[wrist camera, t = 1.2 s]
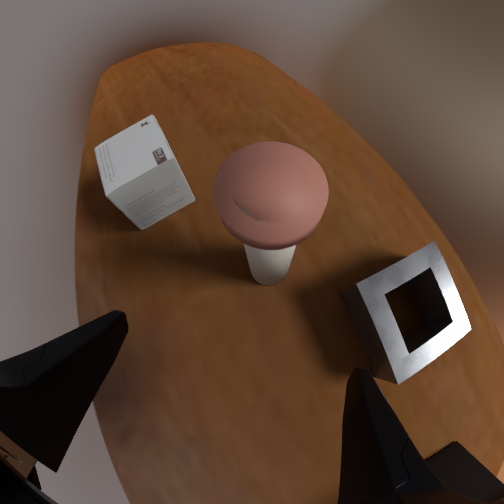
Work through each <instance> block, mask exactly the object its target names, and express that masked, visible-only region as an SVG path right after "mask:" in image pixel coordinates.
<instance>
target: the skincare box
mask: <svg viewBox="0 0 504 504" xmlns="http://www.w3.org/2000/svg"><path fill="white" fill-rule="evenodd" d="M95 154H96V159H97V164H98V168H99V172H100V177H101V181H102V185H103V188H104V192H105V195H106V197H107V198H108V199H109V200H110V201H111V202H112V203H113V204H114V205H115V206H116V207H117V208H118V209H119V210H120V211H121V212H122V213H123V214H124V215H125V216H126V217H128V218H129V219H130V220H131V221H132V222H133V223H134V224H135V225H136V226H137V227H138V228H139V229H140V230H144V229H146V228H148V227H149V226H151V225H153V224H155V223H156V222H158V221H160V220H162V219H163V218H165V217H167V216H168V215H170V214H172V213H174V212H176V211H177V210H179V209H181V208H183V207H185V206H186V205H188V204H190V203H192V202H194V201H195V198H194V196H193V193H192V191H191V189H190V187H189V185H188V183H187V181H186V179H185V177H184V175H183V173H182V170H181V168H180V166H179V164H178V162H177V160H176V158H175V156H174V154H173V152H172V150H171V148H170V146H169V144H168V142H167V140H166V138H165V136H164V134H163V132H162V130H161V128H160V126H159V124H158V122H157V120H156V119H155V117H154V115H150V116H148V117H147V118H145V119H143V120H141V121H139V122H137V123H136V124H134V125H132V126H130V127H129V128H127V129H125V130H123V131H121V132H120V133H118V134H116V135H114V136H113V137H111V138H109V139H108V140H106V141H104V142H103V143H101V144H100V145H98V146H97V147H95Z"/></svg>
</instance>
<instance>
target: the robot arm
mask: <svg viewBox="0 0 504 504" xmlns="http://www.w3.org/2000/svg"><path fill="white" fill-rule="evenodd" d="M127 333H128V323H127V319H126V314H125V313H124V312H122V311H119V310H114V311H112V312H109V313H107V314H105V315H103V316H101V317H99V318H97V319H95V320H93V321H91V322H89V323H86V324H84V325H82V326H80V327H78V328H76V329H74V330H72V331H70V332H68V333H66V334H64V335H62V336H59V337H57V338H55V339H53V340H51V341H49V342H47V343H45V344H43V345H41V346H39V347H37V348H34V349H33V350H30V351H27V352H25V353H22V354H20V355H17V356H14V357H12V358H9V359H6V360H3V361H1V362H0V504H58V503H56V502H55V501H54V500H52V499H51V498H50V497H48V496H47V495H46V494H44V493H43V492H42V491H41V486H40V482H39V479H38V475H37V471H36V467H35V464H36V462H37V460H38V461H39V462H40V463H42V464H44V465H45V466H47V467H48V468H49V469H51V470H52V471H54V472H57V471H58V469H59V466H60V464H61V462H62V460H63V458H64V456H65V454H66V452H67V449H68V448H69V445H70V443H71V441H72V439H73V436H74V435H75V433H76V431H77V429H78V427H79V425H80V423H81V421H82V419H83V418H84V416H85V414H86V412H87V410H88V408H89V406H90V404H91V402H92V401H93V399H94V397H95V395H96V393H97V391H98V390H99V388H100V386H101V384H102V383H103V381H104V379H105V377H106V375H107V374H108V372H109V370H110V368H111V367H112V365H113V363H114V361H115V359H116V357H117V355H118V352H119V350H120V348H121V346H122V344H123V341H124V339H125V337H126V335H127ZM338 504H504V498H502V499H500V500H498V501H496V502H494V503H485V502H481V501H478V500H475V499H472V498H469V497H466V496H463V495H461V494H458V493H455V492H453V491H451V490H449V489H447V488H446V487H445V486H444V485H443V484H442V483H441V482H440V481H439V480H438V478H437V477H436V476H435V474H434V473H433V472H432V470H431V469H430V467H429V466H428V465H427V463H426V462H425V461H424V459H423V458H422V456H421V455H420V454H419V452H418V450H417V449H416V447H415V446H414V444H413V442H412V441H411V439H410V437H409V436H408V434H407V432H406V431H405V429H404V427H403V425H402V424H401V422H400V421H399V419H398V417H397V416H396V414H395V412H394V411H393V409H392V407H391V406H390V404H389V402H388V401H387V399H386V398H385V396H384V394H383V393H382V391H381V390H380V388H379V386H378V385H377V383H376V382H375V380H374V378H373V377H372V375H371V374H370V372H369V370H368V369H367V368H364V367H356V368H355V369H354V371H353V373H352V374H351V376H350V377H349V379H348V382H347V387H346V396H345V405H344V412H343V424H342V455H341V473H340V486H339V497H338Z"/></svg>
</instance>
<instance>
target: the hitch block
mask: <svg viewBox="0 0 504 504" xmlns="http://www.w3.org/2000/svg"><path fill="white" fill-rule="evenodd" d="M405 282H407V284H408V286H409V288H410V290H411V293H412V295H413V297H414V299H415V302H416V304H417V307H418V309H419V311H420V314H421V316H422V319H423V321H424V324H425V326H424V327H423V328H422V329H420V330H419V331H417V332H416V333H414V334H413V335H411V336H410V337H408V338H407V339H405V340H403V338H402V335H401V333H400V330H399V328H398V325H397V323H396V320H395V318H394V316H393V313H392V311H391V309H390V306H389V304H388V302H387V299H386V297H385V295H384V294H386V293H388V292H390V291H391V290H393V289H395V288H397V287H398V286H400V285H402V284H404V283H405ZM340 295H341V297H342V300H343V302H344V304H345V306H346V308H347V311H348V313H349V315H350V317H351V320H352V322H353V324H354V327H355V329H356V331H357V334H358V336H359V338H360V341H361V343H362V345H363V348H364V350H365V353H366V355H367V358H368V360H369V363H370V365H371V368H372V370H373V373H374V375H375V377H376V378H379V379H382V380H385V381H388V382H392V383H395V384H400V383H401V382H403V381H404V380H406V379H407V378H409V377H410V376H412V375H413V374H415V373H416V372H418V371H419V370H420V369H422V368H423V367H425V366H426V365H427V364H429V363H430V362H431V361H433V360H434V359H435V358H437V357H438V356H439V355H441V354H442V353H443V352H444V351H446V350H447V349H448V348H449V347H451V346H452V345H453V344H454V343H456V342H457V341H458V340H459V339H460V338H461V337H463V336H464V335H465V334H466V333H467V332H468V331H469V330H471V327H470V324H469V321H468V318H467V315H466V312H465V309H464V307H463V304H462V301H461V299H460V296H459V294H458V291H457V289H456V286H455V284H454V281H453V279H452V277H451V274H450V272H449V270H448V268H447V266H446V263H445V261H444V259H443V257H442V255H441V253H440V251H439V249H438V247H437V245H436V243H435V241H434V242H432V243H430V244H428V245H427V246H425V247H423V248H422V249H420V250H418V251H416V252H415V253H413V254H411V255H409V256H407V257H406V258H404V259H402V260H400V261H398V262H397V263H395V264H393V265H391V266H389V267H387V268H385V269H384V270H382V271H380V272H378V273H376V274H374V275H372V276H370V277H368V278H366V279H364V280H362V281H360V282H358V283H356V284H355V285H353V286H352V287H350V288H348V289H347V290H345V291H344V292H342V293H340Z"/></svg>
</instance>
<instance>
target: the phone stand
mask: <svg viewBox="0 0 504 504" xmlns="http://www.w3.org/2000/svg"><path fill="white" fill-rule="evenodd" d="M425 462H426V463H427V465H428V466H429V467H430V469H431V470H432V472H433V473H434V474H435V476H436V477H437V478H438V480H439V481H440V482H441V483H442V484H443V485H444V486H445V487H446V488H447V489H449V490H451V491H453V492H455V493H458V494H461V495H463V496H466V497H469V498H472V499H475V500H478V501H481V502H485V503H494V502H496V501H498V500H500V499H502V498H504V484H503V483H502V482H501V481H500V480H498V478H496V477H495V476H494V475H493V474H492V473H491V472H490V471H489V470H488V469H487V468H486V467H485V466H483V465H482V464H481V463H480V462H479V461H478V460H477V459H476V458H475V457H474V456H473V455H472V454H470V453H469V452H468V451H467V450H466V449H465V448H464V447H463V446H462V445H461V444H460V443H459V442H457V441H456V442H454V443H453V444H451V445H450V446H448V447H447V448H445V449H444V450H442V451H441V452H439V453H437V454H436V455H434V456H433V457H431V458H429V459H428V460H426V461H425Z"/></svg>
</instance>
